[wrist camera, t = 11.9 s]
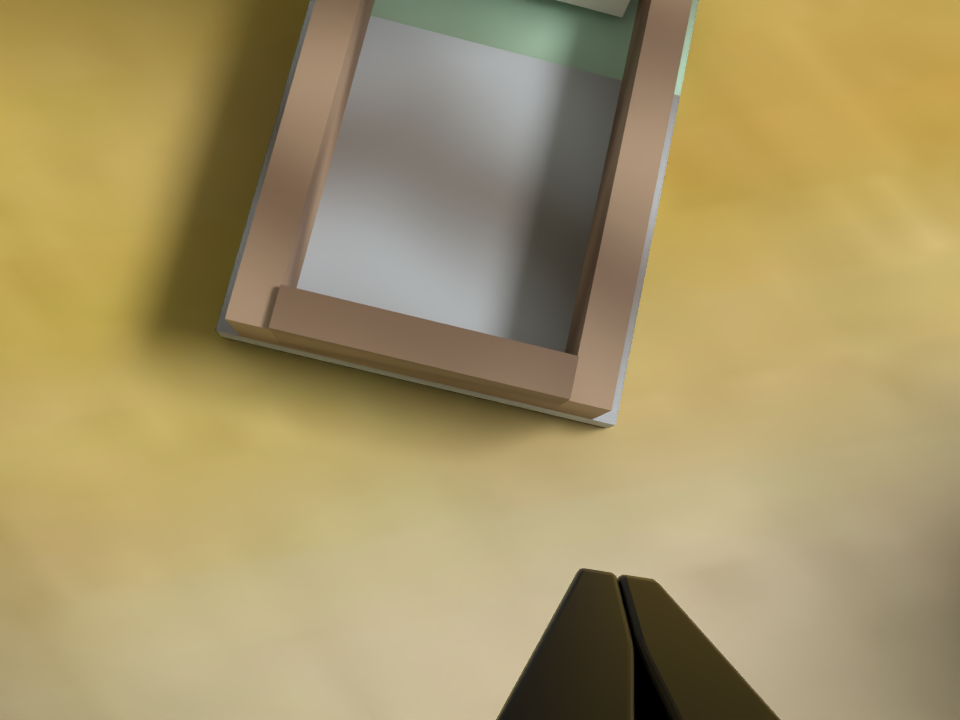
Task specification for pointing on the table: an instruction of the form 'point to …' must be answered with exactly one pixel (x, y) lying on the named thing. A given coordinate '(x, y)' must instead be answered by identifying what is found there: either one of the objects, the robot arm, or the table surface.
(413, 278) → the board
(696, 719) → the robot arm
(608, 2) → the white juice carton
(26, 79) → the table surface
